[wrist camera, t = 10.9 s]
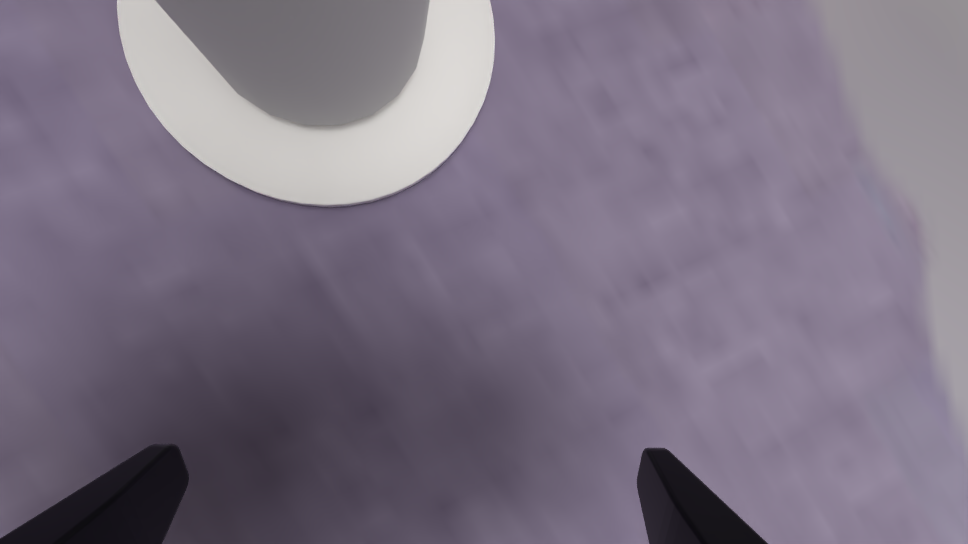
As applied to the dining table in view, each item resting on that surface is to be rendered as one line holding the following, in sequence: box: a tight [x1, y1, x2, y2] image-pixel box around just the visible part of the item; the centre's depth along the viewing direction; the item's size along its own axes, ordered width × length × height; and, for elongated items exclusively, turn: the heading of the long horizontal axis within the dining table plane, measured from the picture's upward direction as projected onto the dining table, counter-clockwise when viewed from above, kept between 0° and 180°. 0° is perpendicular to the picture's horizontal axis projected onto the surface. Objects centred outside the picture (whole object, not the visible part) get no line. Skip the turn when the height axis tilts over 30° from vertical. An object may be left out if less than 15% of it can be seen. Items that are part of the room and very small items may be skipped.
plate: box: [117, 0, 495, 207], centre depth 17 cm, size 13×13×1 cm
